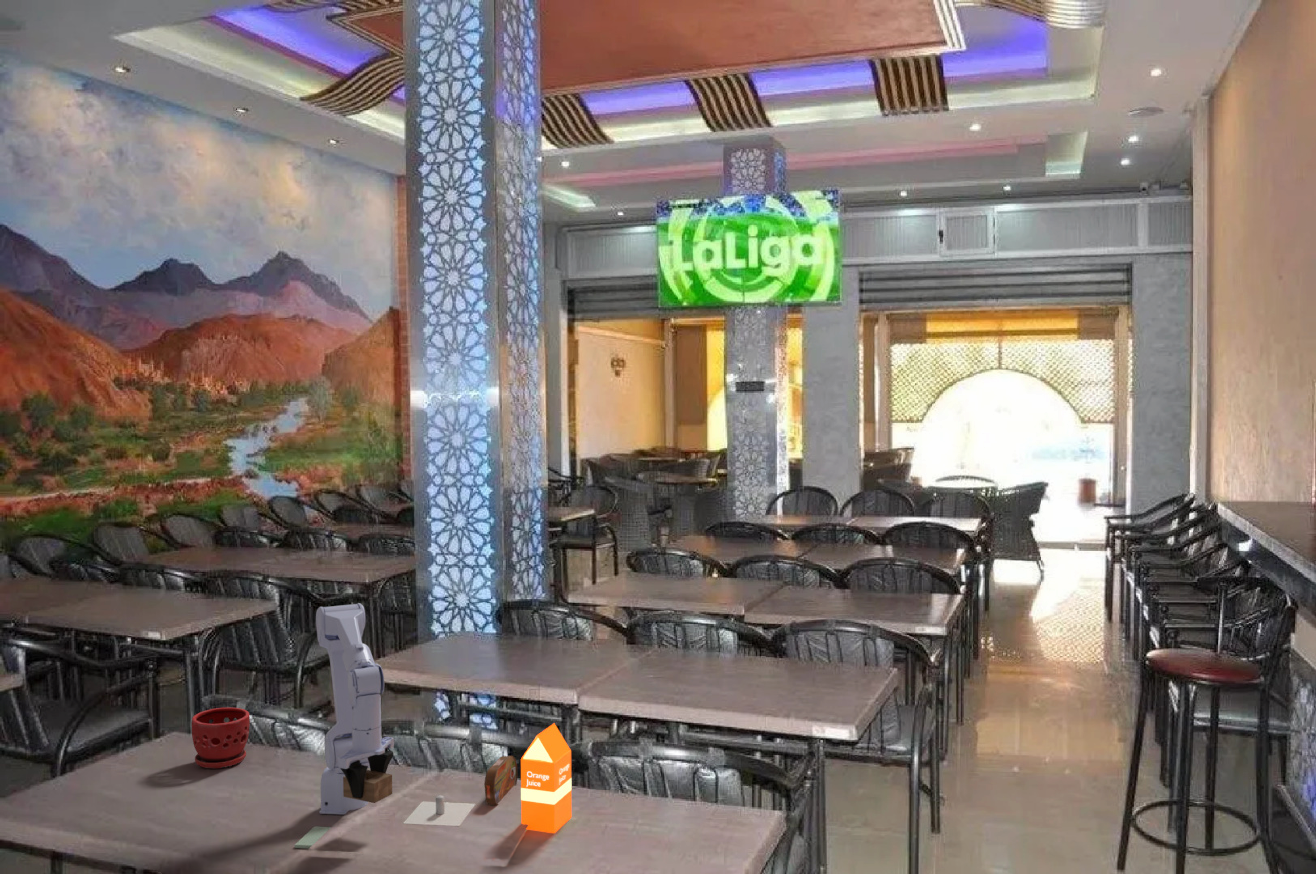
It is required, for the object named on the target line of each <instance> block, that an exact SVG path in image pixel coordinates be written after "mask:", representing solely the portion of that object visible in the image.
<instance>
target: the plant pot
mask: <svg viewBox="0 0 1316 874" xmlns="http://www.w3.org/2000/svg"><path fill="white" fill-rule="evenodd" d="M226 718H227V719H228V721H227V722H226V721H225V719H226ZM250 718H251V717H250V712H249V711H248V710H246V709H243V708H239V707H218V708H217V707H215V708H211V709H210V708H209V709H207V710H203V711H200V712H199V713H196V714H194V715H193V716H192V718H191V737H192V742H193V747H194V749H195V751H196V753H197V754H196V755H195V757H194V761H195V763H196V764H197V765H198V766H200V767H201V768H204V769H223V768H222V767H225V768H228V767H227V766H229V767H232V765H233V766H235V765H237V763H238V764H239V763H241V762H243V760H244V759H245V758H246V757H247V752H246V750H245V747H246V745H247V742H248V739H249V734H250V727H251V725H250V724H251V723H250ZM235 719H236V720H235ZM211 720H212V722H210V721H211Z"/></svg>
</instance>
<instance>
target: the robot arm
mask: <svg viewBox="0 0 1316 874" xmlns="http://www.w3.org/2000/svg"><path fill="white" fill-rule="evenodd" d="M315 625H316V636H317V642H318V645H319V647H321V648H323V649H326V650H327V651H326V652H327V654H328V657H329V663H330V673H331V684H332V691H333V692H332V693H333V701H334V713H335V721H336V723H335V724H334V725H333V726H332V727H331V728H330V729H329V730H328V731H327V732H326V734H325V736H324V759H325V765H326V767H325V768H324V770H323V771H322V774H321V776H320V777H321V778H320V810H319V814H322V815H323V814H324V815H326V814H327V815H342V816H343V815H346V814H347V813H348V812H349V811H354V810H355V811H356V810H359V809H362V808H364V807H366V806H367V805H368V804H369V802H367V801H362V800H357V799H352V798H347V797H343V777H345V776H346V778H347V781H348V783H349V786H350V789H351V793H352V796H353V797H354V798H359V799H361V798H363V793H364V779H365V774H366V771H367V770H371V771H376V772H381V773H386V774H387V770H388V768H389V765H390V763H391V761H392V759H393V757H394V752H393V751H392V750H388V749H392V748H394V747H395V738H394V737H390V736H385V737H382V706H381V705H382V704H381V703H382V702H381V701H382V700H381V698H382V694H384V691H385V676H384V671H383V668H382V666H381V665H380V664H379V663H376V662H375V660H374V656H373V655H372V652H371V648H370V647H369V646H368V645H367V644H366V643H363V641H362V637H363V634H364V630H365V627H366V610H365V607H364V605H363V604H362V603H359V602H358V603H353V604H352V603H351V604H343V605H334V606H319V607H318V608H317V609H316V612H315Z"/></svg>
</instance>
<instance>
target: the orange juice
mask: <svg viewBox="0 0 1316 874" xmlns="http://www.w3.org/2000/svg"><path fill="white" fill-rule="evenodd" d="M572 780H573V779H572V749H571V748H570V747H569V745H568V743H567V742H566V740H565V738H564V736H563V735H562V733H561V732H560V730H559V728H558V726H557V725H556V723H555V722H554V723H552V724H551V725H549V726H548V727H546V728H545V729H544V730H542V731H541V732H540V733H537V735H535V738H534V739H533V741H532V742H531V744H530V745H529V746H528V748H527V750H526V751H525V752H524V754H523V755H522V757H521V759H520V803H521V805H520V806H521V807H520V808H521V809H520V811H521V816H520V817H521V818H520V820H521V821H520V823H521V824H522V825H527V826H526V828H525V830H527V831H528V830H529V831H534V832H541V833H548V834H556V833H557V832H558V831H559V830H560V829H561V828H562V827H564V825H566V823H568V821H570V820H571V819H572V817H573V816H572V812H573V811H572V787H573V786H572Z"/></svg>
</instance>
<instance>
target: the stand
mask: <svg viewBox="0 0 1316 874" xmlns="http://www.w3.org/2000/svg"><path fill="white" fill-rule="evenodd" d="M475 806H476V803H471V802H470V803H467V802H466V803H464V802H445V795H436V796H435V801H423V800H422V801H421V802H420V804H419V805H418V806H417V807H416V808H415V809H414V810H413V811H412V813H411V814H410V815H409V816H408V817H407V818H406V819H405V821H404V822H402V824H403V825H404V824H405V825H421V826H423V825H426V826H445V827H446V826H447V827H449V826H450V827H460V826H461V824H462V823H463V822H464V821H465V819H466V818H467V816H468V815H469V814H470V813H471V811H472V810H473V808H474V807H475Z"/></svg>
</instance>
